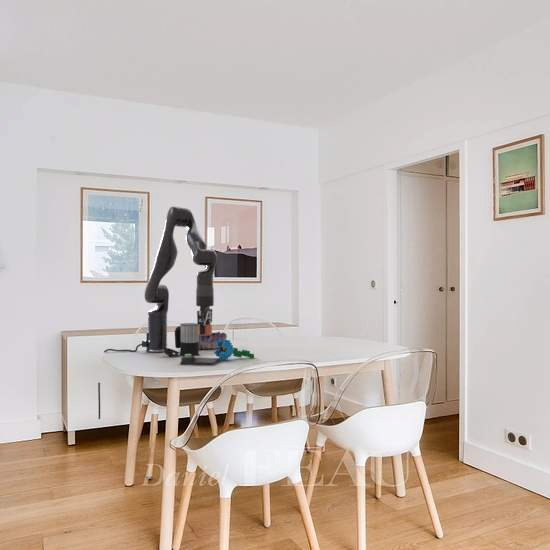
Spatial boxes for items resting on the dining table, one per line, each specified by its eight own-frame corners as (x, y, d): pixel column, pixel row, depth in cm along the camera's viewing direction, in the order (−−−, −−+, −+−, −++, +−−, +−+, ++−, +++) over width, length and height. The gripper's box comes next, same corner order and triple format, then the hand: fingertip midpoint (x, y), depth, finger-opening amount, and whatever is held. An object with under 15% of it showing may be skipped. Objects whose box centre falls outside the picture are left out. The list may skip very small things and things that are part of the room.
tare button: (183, 358, 228) (183, 354, 228) (186, 357, 231) (186, 353, 231) (190, 358, 228) (190, 354, 228) (192, 357, 230) (192, 353, 230)
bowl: (195, 335, 231) (195, 325, 231) (200, 334, 237) (200, 324, 237) (209, 335, 229) (209, 325, 229) (213, 334, 235) (213, 324, 235)
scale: (179, 364, 227) (179, 357, 227) (189, 360, 239) (189, 353, 239) (211, 366, 224) (211, 358, 224) (220, 361, 236) (220, 354, 236)
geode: (192, 351, 268) (190, 331, 269) (185, 351, 279) (184, 332, 280) (230, 347, 277) (228, 328, 278) (222, 347, 287) (220, 329, 289)
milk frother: (202, 354, 259) (202, 323, 259) (187, 358, 244) (187, 326, 244) (176, 352, 263) (176, 322, 263) (159, 357, 248) (159, 325, 248)
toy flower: (255, 367, 242) (219, 359, 234) (246, 364, 250) (211, 357, 242) (259, 347, 243) (224, 339, 235) (251, 345, 251) (216, 337, 243)
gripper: (202, 294, 241) (202, 331, 241) (191, 295, 227) (191, 335, 227) (218, 294, 239) (218, 332, 239) (207, 295, 225) (207, 335, 225)
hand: (204, 333), depth 233 cm, fingers closed on bowl, 6 cm apart
